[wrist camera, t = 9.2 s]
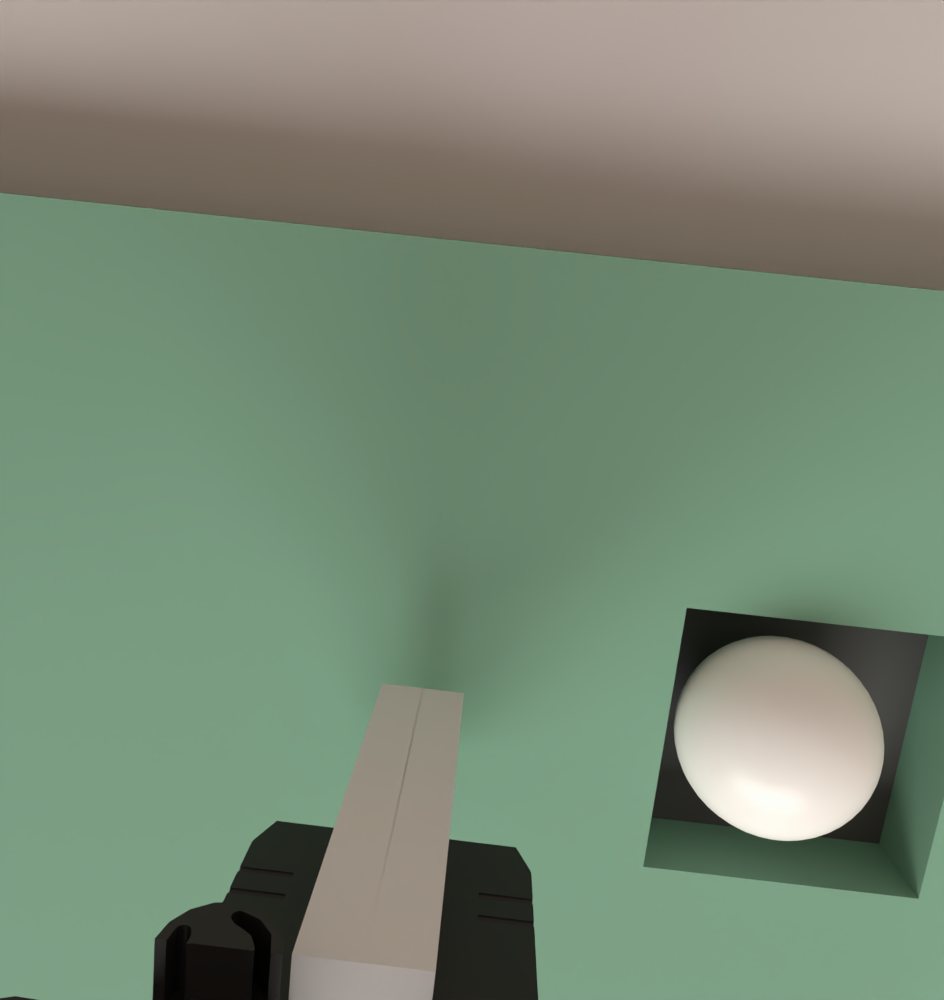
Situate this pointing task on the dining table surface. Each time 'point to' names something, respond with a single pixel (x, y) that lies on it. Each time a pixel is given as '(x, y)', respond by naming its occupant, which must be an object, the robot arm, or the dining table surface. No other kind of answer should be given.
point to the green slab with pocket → (455, 582)
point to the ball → (779, 738)
